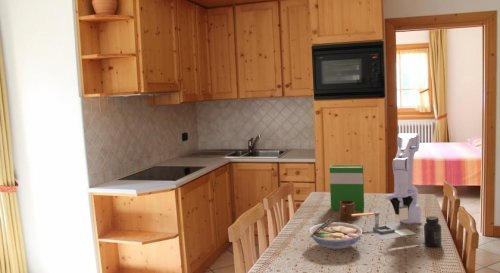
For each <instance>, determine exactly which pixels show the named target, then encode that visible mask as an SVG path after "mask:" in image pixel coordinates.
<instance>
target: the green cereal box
mask: <svg viewBox="0 0 500 273" xmlns="http://www.w3.org/2000/svg"><path fill="white" fill-rule="evenodd" d="M364 184H365V183H364V165H363V164H330V165H329V186H330V187H329V190H330V191H329V193H330V211H340V202H341V201H347V200H348V201H353V202H354V203H355V212H364V211H365V191H364V190H365V186H364Z"/></svg>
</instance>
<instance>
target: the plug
mask: <svg viewBox="0 0 500 273" xmlns="http://www.w3.org/2000/svg"><path fill="white" fill-rule="evenodd" d="M394 218H395V219H398V220H399V221H400V220H403V219H408V206H407V205H404V204H399V214H398V215H397V214H395V213H394Z"/></svg>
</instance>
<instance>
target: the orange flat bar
mask: <svg viewBox="0 0 500 273" xmlns="http://www.w3.org/2000/svg"><path fill="white" fill-rule="evenodd" d="M375 215H379V216H380V211H374V212H364V213H355V214H351V216H355V217H363V216H375Z"/></svg>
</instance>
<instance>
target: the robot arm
mask: <svg viewBox="0 0 500 273" xmlns="http://www.w3.org/2000/svg"><path fill="white" fill-rule="evenodd" d="M396 143H397V146H398V150H397V151H396V154H395V158H393V159H392V164H391V165H392V173H393V174H392V175H393V179H394V180H393V184H394V186H393V187H394V189H393V190H394V192H392V193H388V194H385V200H387V201H389V202H390V203H391V205H392V208H393V211H394V215H395V214H397V215H398V214H399V204H404V205H407V206H408V219H403V220H399V222H401V223H403V224H414V223H415V224H422V218H421V217H422V215H421V213H422V210H421V207H420V205H419V204H418V203H419V190H418V188H417V187H415V185H413V181H414V180H413V178H414V177H413V176H414V158H415V154H416V152H419V149H420V134H419V133H400V132H399V133H398V134H397V137H396Z"/></svg>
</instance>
